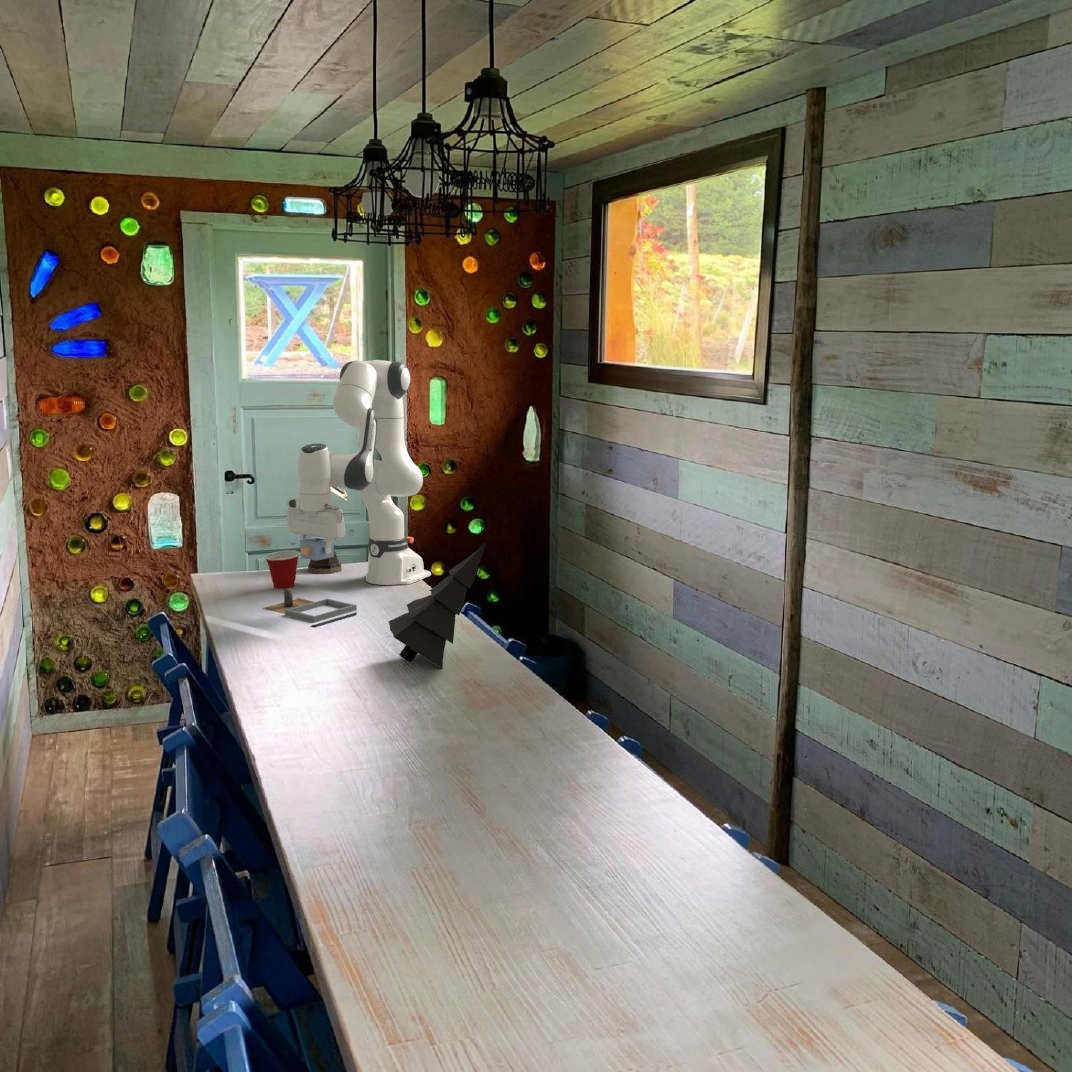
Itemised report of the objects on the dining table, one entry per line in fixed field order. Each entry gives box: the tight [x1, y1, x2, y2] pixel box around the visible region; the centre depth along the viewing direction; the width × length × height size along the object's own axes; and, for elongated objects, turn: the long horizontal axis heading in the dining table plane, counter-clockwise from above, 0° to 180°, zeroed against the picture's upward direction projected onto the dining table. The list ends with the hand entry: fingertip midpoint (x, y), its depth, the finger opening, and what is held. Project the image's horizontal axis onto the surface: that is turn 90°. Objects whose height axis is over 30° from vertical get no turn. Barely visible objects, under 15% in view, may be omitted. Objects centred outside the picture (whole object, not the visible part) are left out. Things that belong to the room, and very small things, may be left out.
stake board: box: [262, 588, 314, 615], centre depth 314 cm, size 14×10×6 cm
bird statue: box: [307, 487, 349, 575], centre depth 363 cm, size 17×13×35 cm
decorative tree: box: [388, 542, 487, 670], centre depth 268 cm, size 15×15×35 cm
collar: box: [299, 536, 335, 561], centre depth 303 cm, size 8×6×5 cm
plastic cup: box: [264, 550, 300, 590], centre depth 336 cm, size 11×11×12 cm
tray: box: [284, 598, 358, 628], centre depth 307 cm, size 16×12×3 cm
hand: (317, 551), depth 304 cm, fingers closed on collar, 6 cm apart
